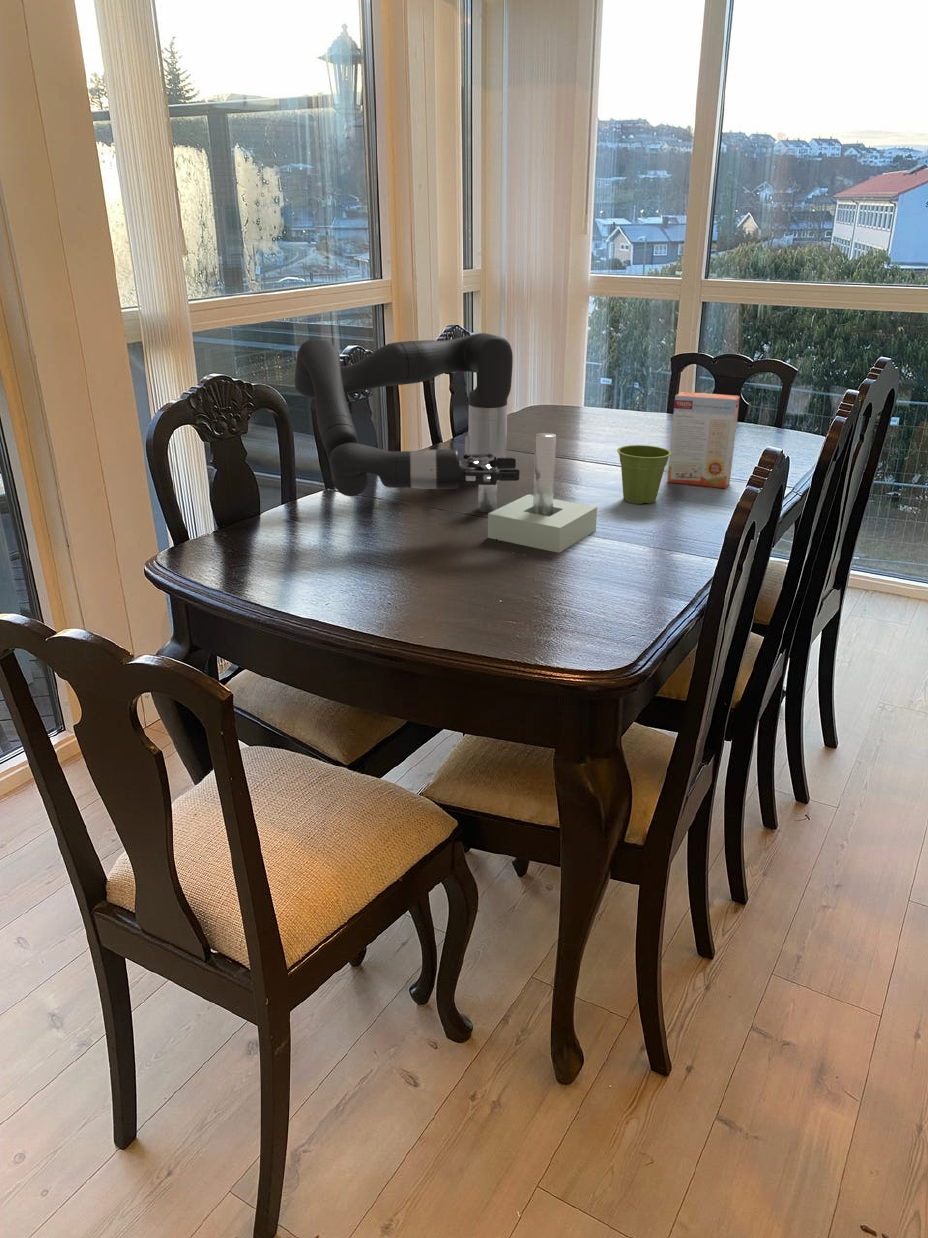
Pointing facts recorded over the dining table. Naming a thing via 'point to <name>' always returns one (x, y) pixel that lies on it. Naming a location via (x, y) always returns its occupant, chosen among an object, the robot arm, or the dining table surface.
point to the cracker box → (703, 439)
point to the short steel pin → (487, 498)
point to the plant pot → (642, 472)
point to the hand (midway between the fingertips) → (517, 468)
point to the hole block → (542, 524)
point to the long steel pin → (544, 473)
